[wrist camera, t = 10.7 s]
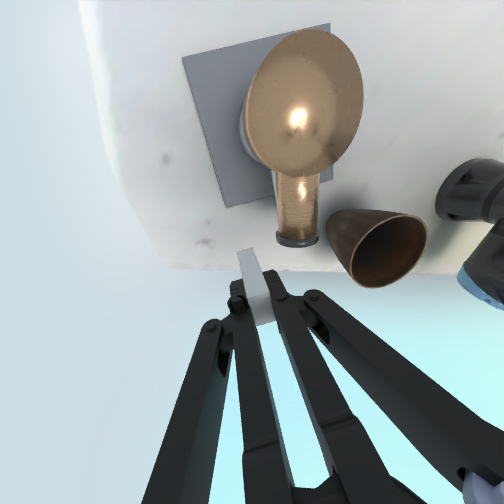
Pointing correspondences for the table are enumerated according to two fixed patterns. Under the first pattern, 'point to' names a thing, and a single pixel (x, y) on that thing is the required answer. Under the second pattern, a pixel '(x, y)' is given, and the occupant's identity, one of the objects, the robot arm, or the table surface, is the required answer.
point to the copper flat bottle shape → (302, 122)
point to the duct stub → (234, 116)
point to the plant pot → (376, 244)
